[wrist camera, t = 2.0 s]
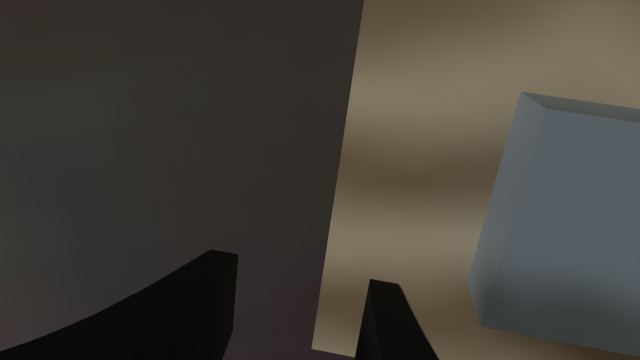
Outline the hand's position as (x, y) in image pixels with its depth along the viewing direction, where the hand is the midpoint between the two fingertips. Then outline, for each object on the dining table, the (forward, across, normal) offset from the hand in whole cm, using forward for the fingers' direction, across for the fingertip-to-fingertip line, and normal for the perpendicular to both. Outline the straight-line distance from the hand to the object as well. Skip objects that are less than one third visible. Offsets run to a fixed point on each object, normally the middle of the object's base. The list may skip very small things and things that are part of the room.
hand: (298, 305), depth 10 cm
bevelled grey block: (+9, -9, 0) cm, 13 cm away
